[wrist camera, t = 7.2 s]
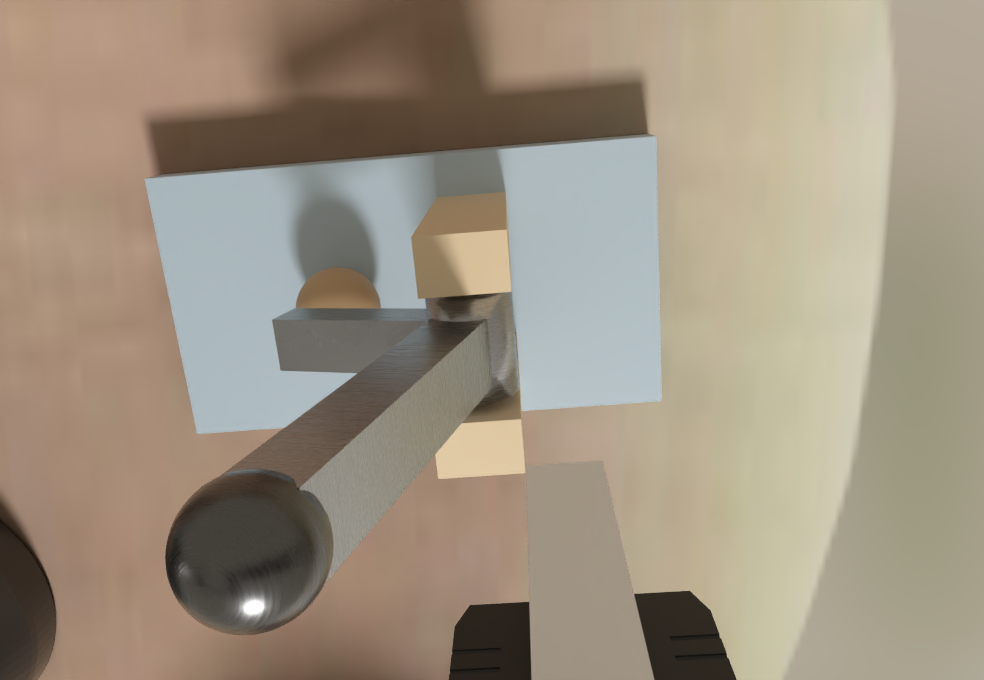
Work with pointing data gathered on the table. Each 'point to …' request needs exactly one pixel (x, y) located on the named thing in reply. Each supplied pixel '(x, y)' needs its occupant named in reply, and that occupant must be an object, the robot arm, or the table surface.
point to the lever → (337, 453)
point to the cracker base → (372, 235)
